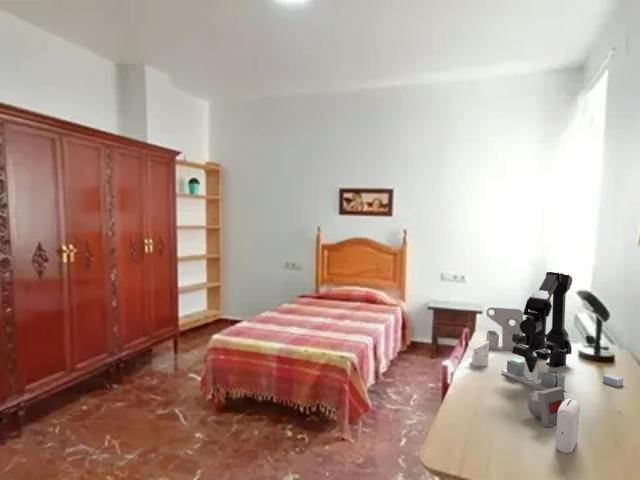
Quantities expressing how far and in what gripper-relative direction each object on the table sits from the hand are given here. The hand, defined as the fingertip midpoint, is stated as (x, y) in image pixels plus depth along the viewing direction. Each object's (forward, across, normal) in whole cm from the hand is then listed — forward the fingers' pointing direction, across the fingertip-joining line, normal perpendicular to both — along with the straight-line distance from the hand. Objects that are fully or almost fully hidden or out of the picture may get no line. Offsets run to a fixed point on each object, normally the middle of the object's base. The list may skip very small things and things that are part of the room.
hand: (534, 371), depth 167 cm
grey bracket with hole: (+5, -27, -37) cm, 46 cm away
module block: (+2, 0, 0) cm, 2 cm away
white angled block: (+5, +3, -24) cm, 25 cm away
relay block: (+3, -23, +14) cm, 27 cm away
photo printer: (+5, +31, +35) cm, 47 cm away
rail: (+4, 0, -1) cm, 5 cm away
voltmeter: (+5, +16, +19) cm, 26 cm away
